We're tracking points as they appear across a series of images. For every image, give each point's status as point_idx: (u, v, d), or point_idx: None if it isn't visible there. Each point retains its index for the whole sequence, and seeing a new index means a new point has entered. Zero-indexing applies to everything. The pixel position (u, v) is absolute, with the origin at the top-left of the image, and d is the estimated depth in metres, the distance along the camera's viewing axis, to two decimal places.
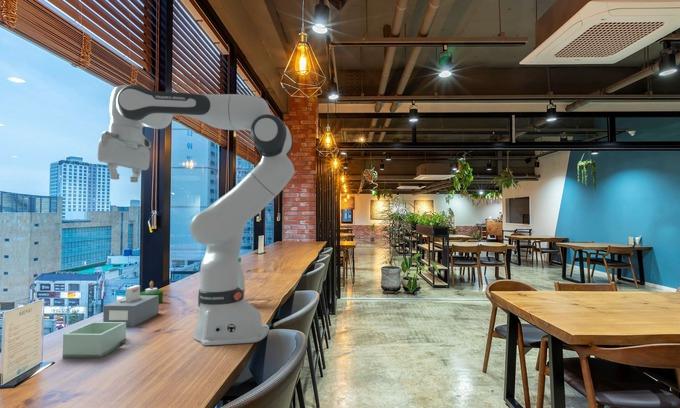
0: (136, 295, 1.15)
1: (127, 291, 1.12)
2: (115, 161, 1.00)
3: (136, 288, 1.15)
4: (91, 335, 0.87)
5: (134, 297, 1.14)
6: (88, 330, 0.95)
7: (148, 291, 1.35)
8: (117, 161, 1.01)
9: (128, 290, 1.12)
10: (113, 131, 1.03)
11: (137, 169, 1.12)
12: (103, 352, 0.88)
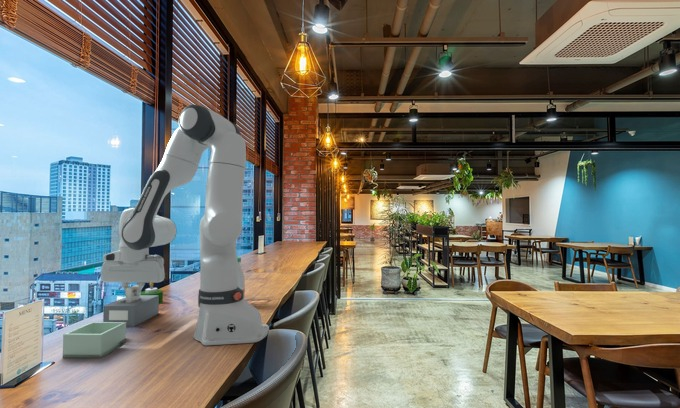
0: None
1: (127, 291, 1.12)
2: None
3: (136, 288, 1.15)
4: (91, 335, 0.87)
5: (134, 297, 1.14)
6: (88, 330, 0.95)
7: (148, 291, 1.35)
8: None
9: (128, 290, 1.12)
10: (144, 252, 1.14)
11: None
12: (103, 352, 0.88)
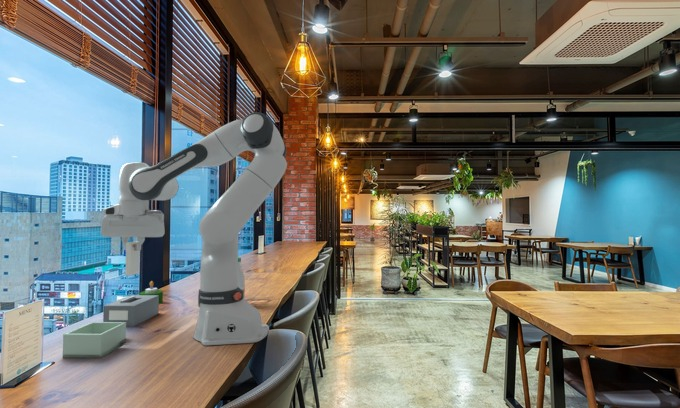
0: None
1: (127, 245, 1.12)
2: None
3: (136, 243, 1.15)
4: (91, 335, 0.87)
5: (134, 252, 1.14)
6: (88, 330, 0.95)
7: (148, 291, 1.35)
8: None
9: (128, 244, 1.12)
10: (144, 207, 1.13)
11: (128, 237, 1.15)
12: (103, 352, 0.88)
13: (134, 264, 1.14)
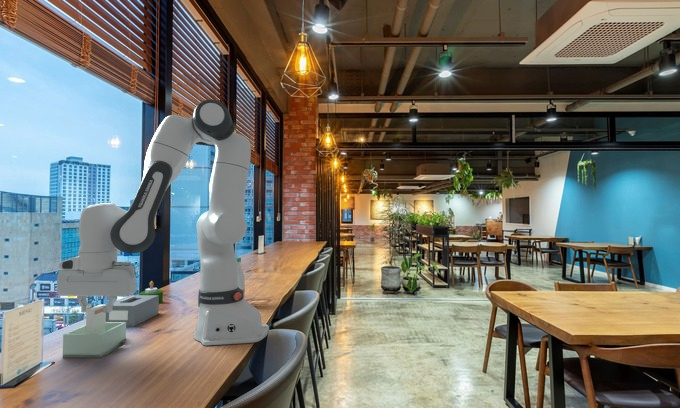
0: (100, 317, 0.93)
1: (88, 313, 0.90)
2: None
3: (100, 308, 0.93)
4: (91, 335, 0.87)
5: (97, 320, 0.92)
6: None
7: (148, 291, 1.35)
8: None
9: (89, 311, 0.90)
10: (110, 258, 0.92)
11: None
12: (103, 352, 0.88)
13: None
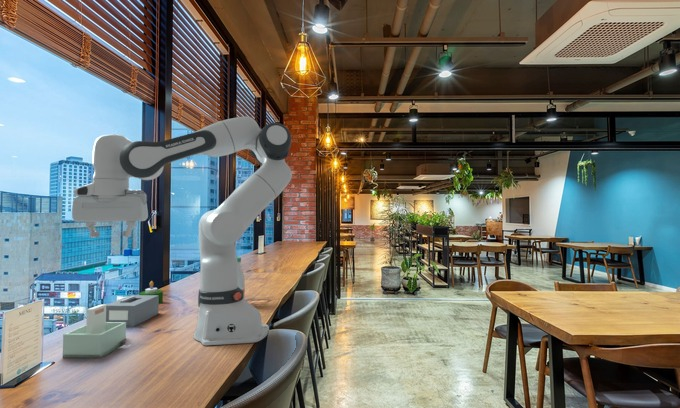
0: (101, 317, 0.93)
1: (88, 313, 0.90)
2: None
3: (101, 308, 0.93)
4: (91, 335, 0.87)
5: (98, 320, 0.92)
6: None
7: (148, 291, 1.35)
8: None
9: (89, 311, 0.90)
10: (123, 186, 0.97)
11: (95, 222, 0.99)
12: (103, 352, 0.88)
13: None
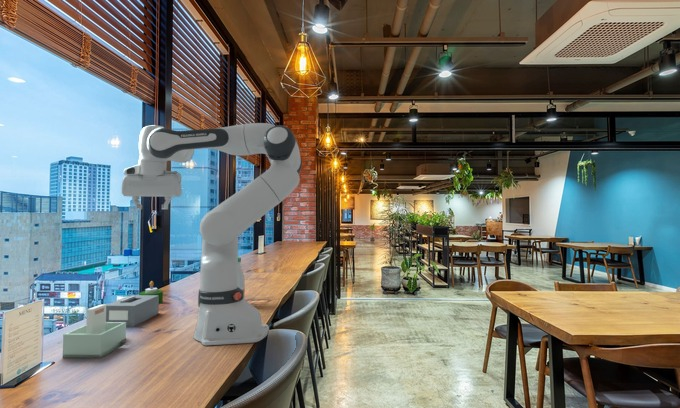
0: (101, 317, 0.93)
1: (88, 313, 0.90)
2: None
3: (101, 308, 0.93)
4: (91, 335, 0.87)
5: (98, 320, 0.92)
6: None
7: (148, 291, 1.35)
8: None
9: (89, 311, 0.90)
10: (162, 167, 1.20)
11: (139, 197, 1.21)
12: (103, 352, 0.88)
13: None
